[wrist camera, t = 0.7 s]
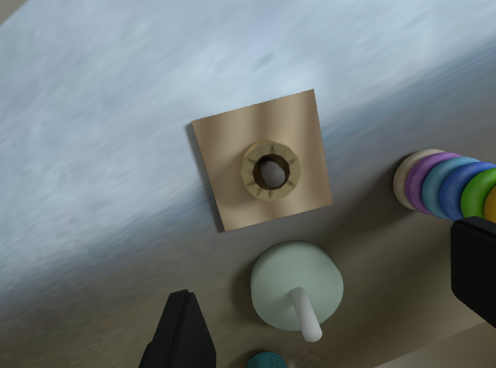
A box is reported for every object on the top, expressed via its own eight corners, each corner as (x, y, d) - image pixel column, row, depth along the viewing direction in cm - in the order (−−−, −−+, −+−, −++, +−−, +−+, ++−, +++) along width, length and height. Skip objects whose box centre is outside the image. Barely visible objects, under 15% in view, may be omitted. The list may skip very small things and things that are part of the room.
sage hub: (326, 230, 31) (362, 272, 22) (339, 302, 34) (374, 363, 26) (240, 252, 31) (242, 302, 23) (261, 321, 34) (269, 388, 26)
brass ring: (285, 133, 27) (294, 135, 23) (295, 182, 28) (305, 192, 24) (235, 147, 27) (235, 151, 23) (248, 195, 28) (249, 206, 24)
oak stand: (310, 90, 26) (336, 79, 20) (329, 201, 30) (356, 224, 23) (192, 121, 27) (178, 120, 20) (225, 228, 30) (222, 258, 24)
